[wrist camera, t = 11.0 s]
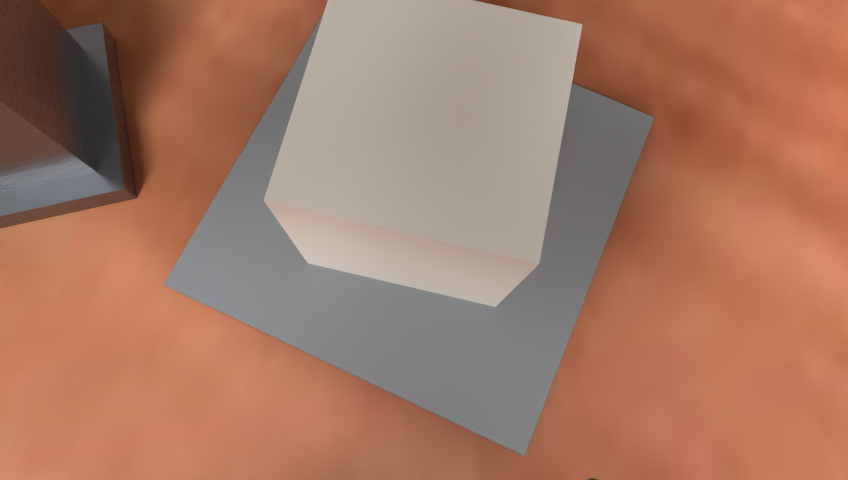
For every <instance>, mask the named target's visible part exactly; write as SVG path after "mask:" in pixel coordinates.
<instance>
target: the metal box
mask: <svg viewBox="0 0 848 480" xmlns="http://www.w3.org/2000/svg"><path fill="white" fill-rule="evenodd" d="M135 198H136V191H135V184H134V177H133V169H132V162H131V155H130V148H129V141H128V134H127V126H126V119H125V112H124V105H123V98H122V91H121V83H120V76H119V69H118V62H117V55H116V48H115V41H114V37H113V36H112V34H111V33H110V32H109V31H108V29H107V28H106V27H105V26H104V24H103V23H97V24H92V25H87V26H81V27H76V28H71V29H65V28H64V27H63V26H62V25H61V24H60V23H59V22H58V21H57V20H56V19H55V17H54V16H53V15H52V14H51V13H50V12H49V11H48V10H47V9H46V8H45V6H44V5H43V4H42V3H41V2H40V1H39V0H0V228H3V227H8V226H12V225H17V224H21V223H26V222H31V221H35V220H40V219H44V218H49V217H53V216H58V215H62V214H67V213H71V212H76V211H80V210H85V209H89V208H94V207H98V206H103V205H107V204H112V203H116V202H121V201H125V200H130V199H135Z"/></svg>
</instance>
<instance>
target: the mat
mask: <svg viewBox="0 0 848 480" xmlns="http://www.w3.org/2000/svg"><path fill="white" fill-rule="evenodd" d="M322 17H323V16H322ZM322 17H321V19H320V21H319V22H318V24H317V26H316V27H315V29H314V31H313V32H312V34H311V36H310V38H309V39H308V41H307V43H306V44H305V46H304V48H303V49H302V51H301V53H300V54H299V56H298V58H297V60H296V61H295V63H294V65H293V66H292V68H291V70H290V71H289V73H288V75H287V76H286V78H285V80H284V81H283V83H282V85H281V87H280V88H279V90H278V92H277V93H276V95H275V97H274V98H273V100H272V102H271V103H270V105H269V107H268V109H267V110H266V112H265V114H264V115H263V117H262V119H261V120H260V122H259V124H258V125H257V127H256V129H255V131H254V132H253V134H252V136H251V137H250V139H249V141H248V142H247V144H246V146H245V147H244V149H243V151H242V153H241V154H240V156H239V158H238V159H237V161H236V163H235V164H234V166H233V168H232V169H231V171H230V173H229V175H228V176H227V178H226V180H225V181H224V183H223V185H222V186H221V188H220V190H219V191H218V193H217V195H216V197H215V198H214V200H213V202H212V203H211V205H210V207H209V208H208V210H207V212H206V213H205V215H204V217H203V218H202V220H201V222H200V224H199V225H198V227H197V229H196V230H195V232H194V234H193V235H192V237H191V239H190V240H189V242H188V244H187V246H186V247H185V249H184V251H183V252H182V254H181V256H180V257H179V259H178V261H177V262H176V264H175V266H174V268H173V269H172V271H171V273H170V274H169V276H168V278H167V279H166V281H165V283H164V284H163V285H165V286H167V287H169V288H171V289H173V290H176V291H178V292H180V293H182V294H184V295H186V296H188V297H190V298H192V299H195V300H197V301H199V302H201V303H203V304H205V305H207V306H209V307H211V308H213V309H216V310H218V311H220V312H222V313H224V314H226V315H228V316H230V317H232V318H234V319H237V320H239V321H241V322H243V323H245V324H247V325H249V326H251V327H253V328H256V329H258V330H260V331H262V332H264V333H266V334H268V335H270V336H272V337H274V338H277V339H279V340H281V341H283V342H285V343H287V344H289V345H291V346H293V347H296V348H298V349H300V350H302V351H304V352H306V353H308V354H310V355H312V356H314V357H317V358H319V359H321V360H323V361H325V362H327V363H329V364H331V365H333V366H335V367H338V368H340V369H342V370H344V371H346V372H348V373H350V374H352V375H354V376H357V377H359V378H361V379H363V380H365V381H367V382H369V383H371V384H373V385H375V386H378V387H380V388H382V389H384V390H386V391H388V392H390V393H392V394H394V395H397V396H399V397H401V398H403V399H405V400H407V401H409V402H411V403H413V404H415V405H418V406H420V407H422V408H424V409H426V410H428V411H430V412H432V413H434V414H437V415H439V416H441V417H443V418H445V419H447V420H449V421H451V422H453V423H455V424H458V425H460V426H462V427H464V428H466V429H468V430H470V431H472V432H474V433H476V434H479V435H481V436H483V437H485V438H487V439H489V440H491V441H493V442H495V443H498V444H500V445H502V446H504V447H506V448H508V449H510V450H512V451H514V452H516V453H519V454H521V455H523V456H525V453H526V451H527V448H528V445H529V443H530V440H531V438H532V435H533V432H534V430H535V427H536V425H537V422H538V419H539V417H540V414H541V412H542V409H543V406H544V404H545V401H546V398H547V396H548V393H549V391H550V388H551V385H552V383H553V380H554V378H555V375H556V372H557V370H558V367H559V365H560V362H561V359H562V357H563V354H564V352H565V349H566V346H567V344H568V341H569V339H570V336H571V333H572V331H573V328H574V326H575V323H576V320H577V318H578V315H579V313H580V310H581V307H582V305H583V302H584V300H585V297H586V294H587V292H588V289H589V287H590V284H591V281H592V279H593V276H594V274H595V271H596V268H597V266H598V263H599V261H600V258H601V255H602V253H603V250H604V248H605V245H606V242H607V240H608V237H609V235H610V232H611V229H612V227H613V224H614V222H615V219H616V216H617V214H618V211H619V209H620V206H621V203H622V201H623V198H624V196H625V193H626V190H627V188H628V185H629V183H630V180H631V177H632V175H633V172H634V169H635V167H636V164H637V162H638V159H639V156H640V154H641V151H642V149H643V146H644V143H645V141H646V138H647V136H648V133H649V130H650V128H651V125H652V123H653V120H654V117H653V116H650V115H648V114H645V113H643V112H641V111H638V110H636V109H633V108H631V107H629V106H626V105H624V104H622V103H619V102H617V101H614V100H612V99H610V98H607V97H605V96H602V95H600V94H598V93H595V92H593V91H590V90H588V89H586V88H583V87H581V86H578V85H576V84H574V83H572V85H571V91H570V96H569V102H568V107H567V113H566V119H565V124H564V130H563V135H562V141H561V146H560V152H559V157H558V163H557V168H556V174H555V179H554V185H553V190H552V196H551V202H550V207H549V213H548V218H547V224H546V229H545V235H544V240H543V246H542V251H541V257H540V262H539V265H538V266H537V267H536V268H535V269H534V270H533V271H532V272H531V273H530V274H529V275H528V276H527V277H525V278H524V279H523V280H522V281H521V282H520V283H519V284H518V285H517V286H516V287H515V288H514V289H513V290H512V291H511V292H510V293H509V294H508V295H507V296H506V297H505V298H504V299H503V300H502V301H501V302H500V303H499V304H498V305H497V306H496V307H493V306H489V305H485V304H480V303H476V302H472V301H467V300H463V299H459V298H455V297H450V296H446V295H442V294H437V293H433V292H429V291H425V290H420V289H416V288H412V287H407V286H403V285H399V284H395V283H390V282H386V281H382V280H377V279H373V278H369V277H365V276H360V275H356V274H352V273H347V272H343V271H339V270H334V269H330V268H326V267H322V266H317V265H313V264H309V263H307V261H306V260H305V259H304V257H303V256H302V254H301V253H300V252H299V250H298V249H297V247H296V246H295V244H294V243H293V242H292V240H291V239H290V237H289V236H288V234H287V233H286V232H285V230H284V229H283V227H282V226H281V225H280V223H279V222H278V220H277V219H276V217H275V216H274V215H273V213H272V212H271V210H270V209H269V207H268V206H267V205H266V203H265V202H264V197H265V194H266V191H267V188H268V185H269V182H270V179H271V176H272V173H273V169H274V166H275V163H276V160H277V157H278V154H279V151H280V148H281V145H282V141H283V138H284V135H285V132H286V129H287V126H288V123H289V120H290V117H291V113H292V110H293V107H294V104H295V101H296V98H297V95H298V92H299V89H300V85H301V82H302V79H303V76H304V73H305V70H306V67H307V64H308V61H309V57H310V54H311V51H312V48H313V45H314V42H315V39H316V36H317V33H318V29H319V26H320V23H321V20H322Z"/></svg>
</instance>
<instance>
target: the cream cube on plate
mask: <svg viewBox="0 0 848 480" xmlns="http://www.w3.org/2000/svg"><path fill="white" fill-rule="evenodd" d="M581 30H582V24H579V23H575V22H570V21H566V20H561V19H556V18H552V17H547V16H543V15H538V14H534V13H529V12H525V11H520V10H515V9H511V8H506V7H502V6H497V5H493V4H488V3H484V2H479V1H474V0H328V1H327V5H326V8H325V11H324V14H323V17H322V20H321V23H320V26H319V29H318V33H317V36H316V39H315V42H314V45H313V48H312V51H311V54H310V57H309V61H308V64H307V67H306V70H305V73H304V76H303V79H302V82H301V85H300V89H299V92H298V95H297V98H296V101H295V104H294V107H293V110H292V113H291V117H290V120H289V123H288V126H287V129H286V132H285V135H284V138H283V141H282V145H281V148H280V151H279V154H278V157H277V160H276V163H275V166H274V169H273V173H272V176H271V179H270V182H269V185H268V188H267V191H266V194H265V197H264V202H265V203H266V205H267V206H268V207H269V209H270V210H271V212H272V213H273V215H274V216H275V217H276V219H277V220H278V222H279V223H280V225H281V226H282V227H283V229H284V230H285V232H286V233H287V234H288V236H289V237H290V239H291V240H292V242H293V243H294V244H295V246H296V247H297V249H298V250H299V252H300V253H301V254H302V256H303V257H304V259H305V260H306V261H307V263H309V264H313V265H317V266H322V267H326V268H330V269H334V270H339V271H343V272H347V273H352V274H356V275H360V276H365V277H369V278H373V279H377V280H382V281H386V282H390V283H395V284H399V285H403V286H407V287H412V288H416V289H420V290H425V291H429V292H433V293H437V294H442V295H446V296H450V297H455V298H459V299H463V300H467V301H472V302H476V303H480V304H485V305H489V306H493V307H496V306H497V305H498V304H499V303H500V302H501V301H502V300H503V299H504V298H505V297H506V296H507V295H508V294H509V293H510V292H511V291H512V290H513V289H514V288H515V287H516V286H517V285H518V284H519V283H520V282H521V281H522V280H523V279H524V278H525V277H527V276H528V275H529V274H530V273H531V272H532V271H533V270H534V269H535V268H536V267H537V266H538V265H539V262H540V257H541V251H542V246H543V240H544V235H545V229H546V224H547V218H548V213H549V207H550V202H551V196H552V190H553V185H554V179H555V174H556V168H557V163H558V157H559V152H560V146H561V141H562V135H563V130H564V124H565V119H566V113H567V107H568V102H569V96H570V91H571V85H572V80H573V74H574V69H575V63H576V58H577V52H578V47H579V41H580V36H581Z"/></svg>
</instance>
